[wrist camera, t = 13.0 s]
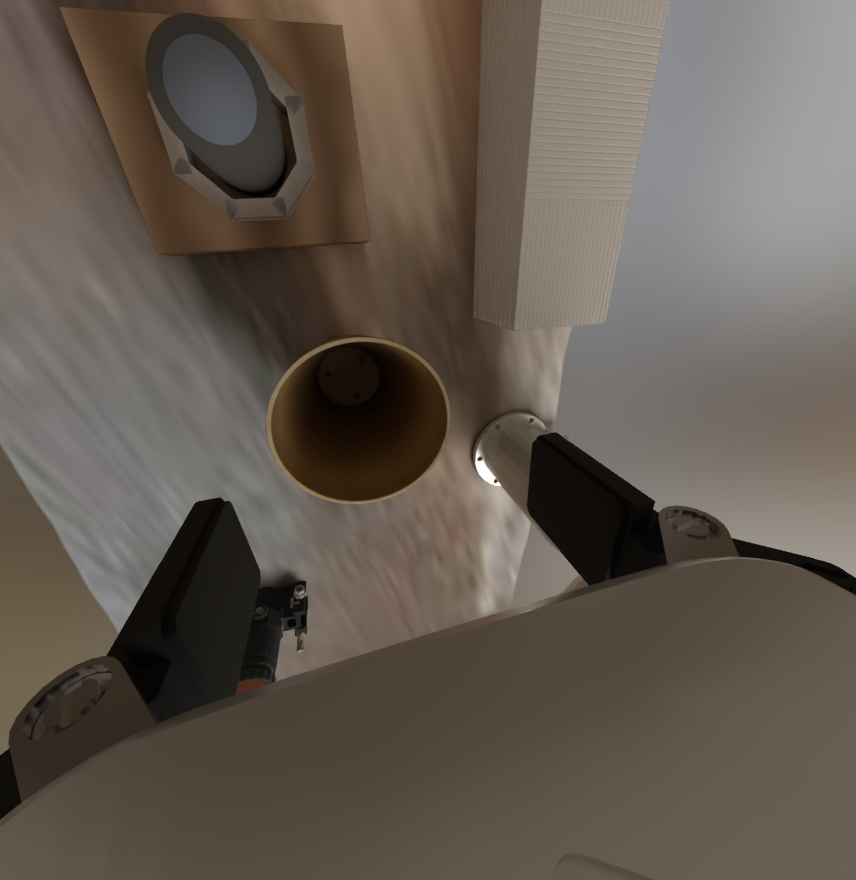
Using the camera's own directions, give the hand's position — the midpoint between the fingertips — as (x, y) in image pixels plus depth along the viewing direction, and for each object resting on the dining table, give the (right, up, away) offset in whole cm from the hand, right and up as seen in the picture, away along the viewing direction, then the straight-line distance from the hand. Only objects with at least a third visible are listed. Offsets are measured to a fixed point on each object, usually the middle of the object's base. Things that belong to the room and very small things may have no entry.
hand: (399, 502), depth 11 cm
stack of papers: (+11, +33, +26) cm, 43 cm away
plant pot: (-9, +10, +31) cm, 33 cm away
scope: (-23, -23, +43) cm, 54 cm away
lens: (-14, +25, +16) cm, 33 cm away
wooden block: (-15, +27, +20) cm, 37 cm away
